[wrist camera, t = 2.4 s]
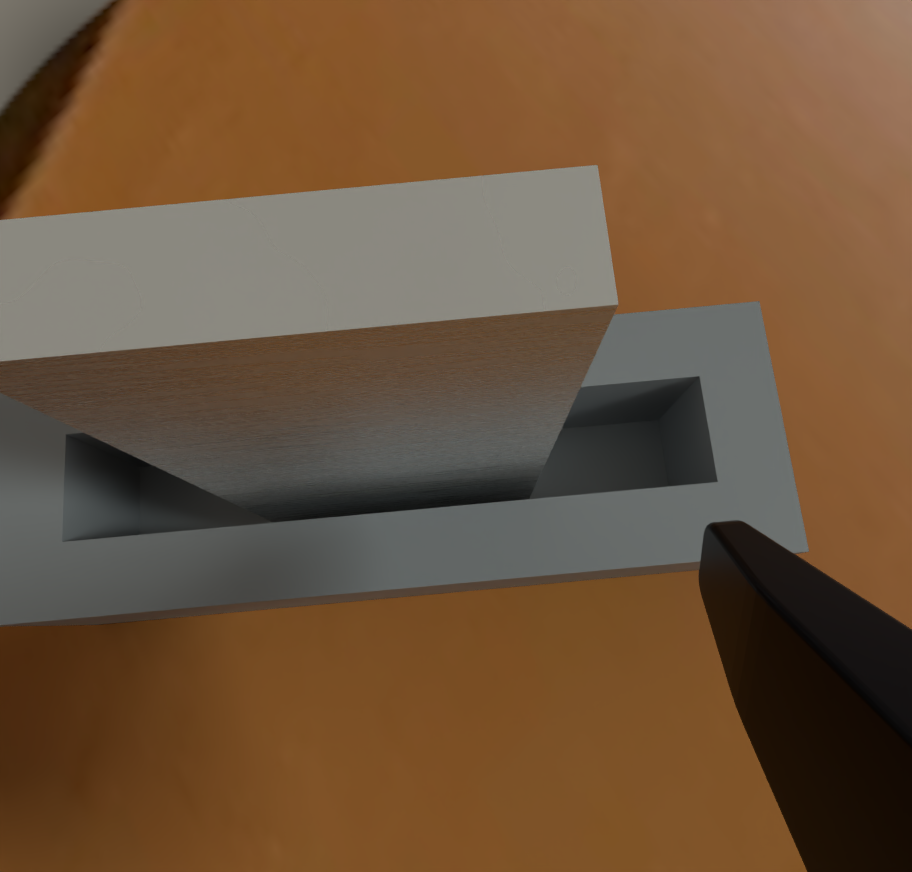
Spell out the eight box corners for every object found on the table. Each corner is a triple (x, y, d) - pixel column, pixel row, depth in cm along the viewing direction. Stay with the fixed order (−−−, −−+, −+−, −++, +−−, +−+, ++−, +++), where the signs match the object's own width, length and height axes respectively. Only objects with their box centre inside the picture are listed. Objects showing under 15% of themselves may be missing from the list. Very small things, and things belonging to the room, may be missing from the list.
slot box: (731, 566, 19) (808, 551, 14) (95, 624, 19) (-19, 626, 14) (697, 370, 20) (759, 301, 16) (101, 425, 20) (-3, 371, 16)
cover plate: (526, 504, 18) (617, 304, 7) (281, 526, 18) (-55, 367, 7) (520, 448, 19) (596, 164, 7) (280, 470, 19) (-44, 223, 7)
